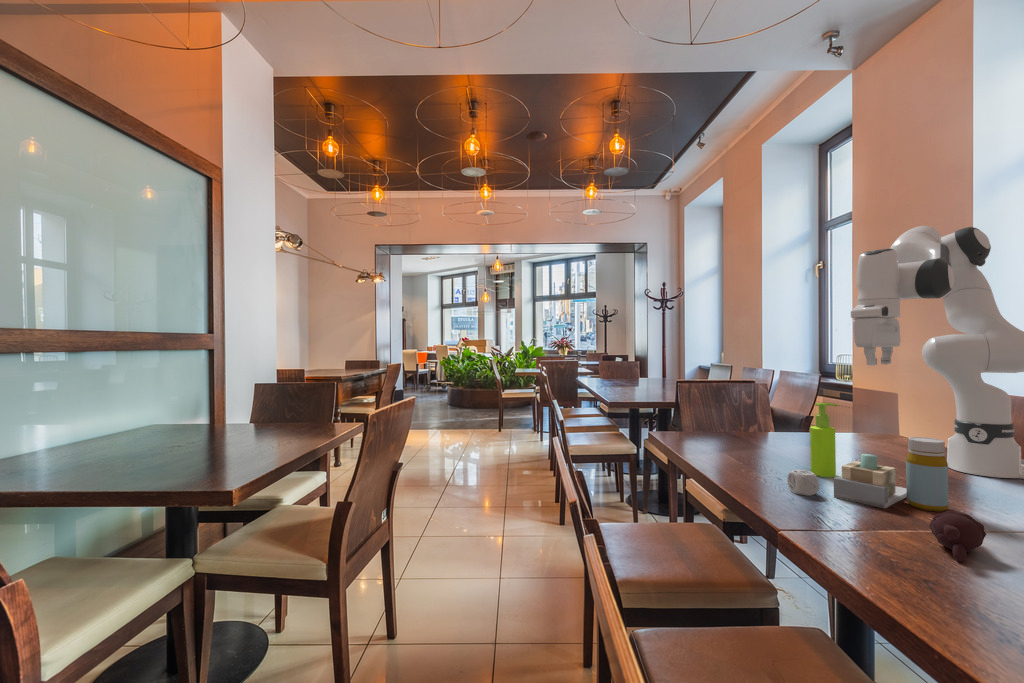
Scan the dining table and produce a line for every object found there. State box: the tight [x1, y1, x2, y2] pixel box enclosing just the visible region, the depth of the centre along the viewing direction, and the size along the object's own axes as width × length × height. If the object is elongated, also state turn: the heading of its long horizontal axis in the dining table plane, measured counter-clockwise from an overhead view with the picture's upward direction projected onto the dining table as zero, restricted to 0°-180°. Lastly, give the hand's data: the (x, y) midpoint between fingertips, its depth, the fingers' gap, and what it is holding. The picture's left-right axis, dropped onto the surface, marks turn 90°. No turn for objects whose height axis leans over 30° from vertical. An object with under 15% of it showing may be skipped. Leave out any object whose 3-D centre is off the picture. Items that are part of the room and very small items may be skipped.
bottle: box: [905, 436, 949, 512], centre depth 106 cm, size 7×7×15 cm
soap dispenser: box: [809, 402, 839, 478], centre depth 132 cm, size 6×7×20 cm
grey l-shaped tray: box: [833, 476, 907, 509], centre depth 114 cm, size 18×10×4 cm, turn 124°
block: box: [841, 460, 896, 497], centre depth 112 cm, size 8×8×6 cm
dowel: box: [860, 453, 878, 470], centre depth 112 cm, size 3×3×9 cm
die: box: [786, 469, 820, 496], centre depth 117 cm, size 5×5×5 cm
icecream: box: [928, 509, 987, 563], centre depth 84 cm, size 7×7×15 cm
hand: (879, 364), depth 122 cm, fingers open, 8 cm apart
